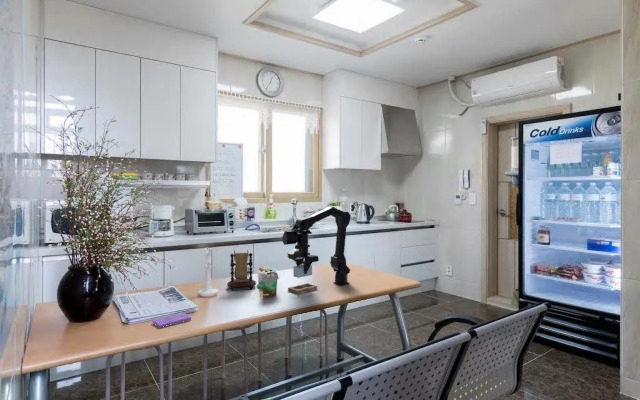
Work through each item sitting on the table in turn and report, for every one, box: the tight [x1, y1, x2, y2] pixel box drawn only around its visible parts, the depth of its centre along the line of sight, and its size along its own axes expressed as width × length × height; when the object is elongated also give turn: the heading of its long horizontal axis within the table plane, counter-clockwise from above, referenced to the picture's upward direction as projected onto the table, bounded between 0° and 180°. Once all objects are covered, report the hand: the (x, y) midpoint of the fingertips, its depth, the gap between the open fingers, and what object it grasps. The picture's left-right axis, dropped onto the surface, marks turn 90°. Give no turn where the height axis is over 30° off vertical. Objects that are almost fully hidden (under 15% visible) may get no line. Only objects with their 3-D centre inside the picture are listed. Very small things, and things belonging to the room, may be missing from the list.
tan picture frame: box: [287, 282, 318, 295], centre depth 190 cm, size 13×8×2 cm, turn 131°
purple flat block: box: [152, 312, 192, 328], centre depth 147 cm, size 7×13×2 cm, turn 133°
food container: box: [261, 271, 279, 298], centre depth 182 cm, size 12×6×10 cm, turn 168°
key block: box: [292, 264, 313, 279], centre depth 190 cm, size 4×9×6 cm, turn 131°
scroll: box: [226, 249, 257, 292], centre depth 195 cm, size 15×15×20 cm
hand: (302, 273), depth 190 cm, fingers closed on key block, 4 cm apart
